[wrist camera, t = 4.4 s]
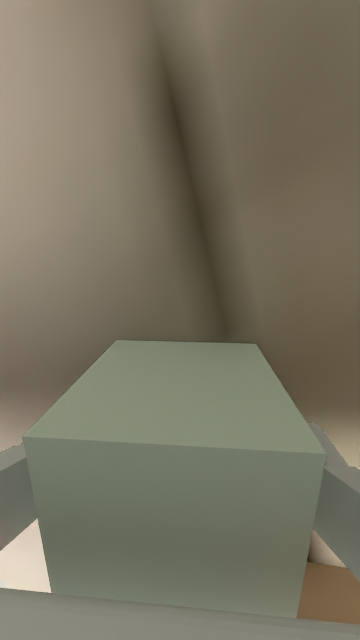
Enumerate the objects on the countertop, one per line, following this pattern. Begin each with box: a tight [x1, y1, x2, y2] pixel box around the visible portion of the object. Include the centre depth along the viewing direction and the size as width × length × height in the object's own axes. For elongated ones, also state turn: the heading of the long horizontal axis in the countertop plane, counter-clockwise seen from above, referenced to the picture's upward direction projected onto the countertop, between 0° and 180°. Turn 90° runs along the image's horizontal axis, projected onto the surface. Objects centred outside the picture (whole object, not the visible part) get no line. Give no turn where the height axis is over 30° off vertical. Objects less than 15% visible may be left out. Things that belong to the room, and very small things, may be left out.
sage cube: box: [22, 340, 326, 618], centre depth 7 cm, size 5×5×5 cm
